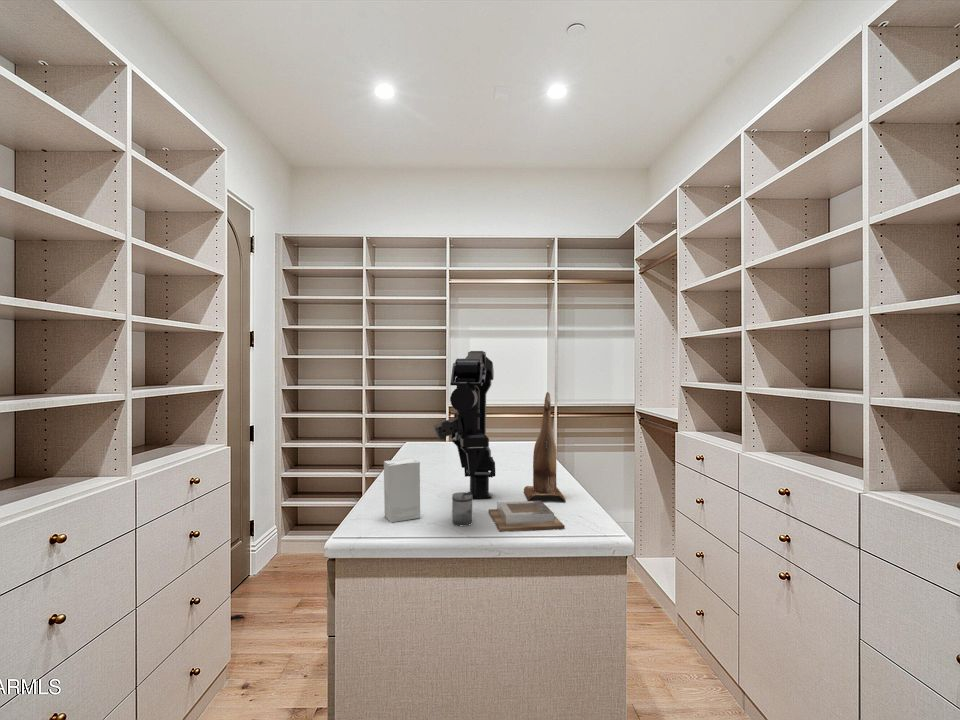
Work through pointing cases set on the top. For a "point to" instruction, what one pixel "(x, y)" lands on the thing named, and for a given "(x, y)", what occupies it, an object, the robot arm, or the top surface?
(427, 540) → the top surface
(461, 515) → the cylinder
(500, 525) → the walnut board
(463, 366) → the robot arm
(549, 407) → the bird sculpture
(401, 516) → the skincare box
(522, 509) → the grey square tray
